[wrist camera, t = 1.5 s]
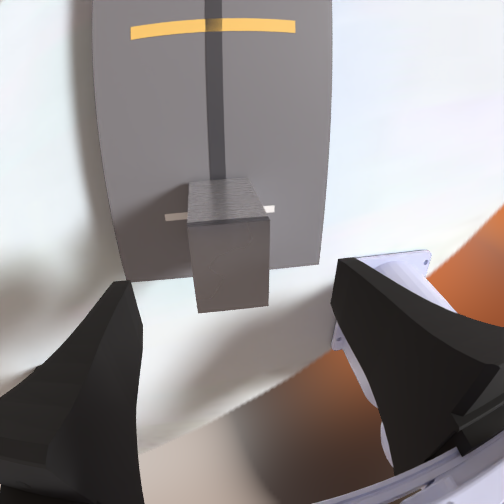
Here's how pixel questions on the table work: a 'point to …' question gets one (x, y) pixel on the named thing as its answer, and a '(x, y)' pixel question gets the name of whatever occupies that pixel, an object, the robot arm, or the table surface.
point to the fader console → (212, 119)
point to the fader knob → (228, 245)
